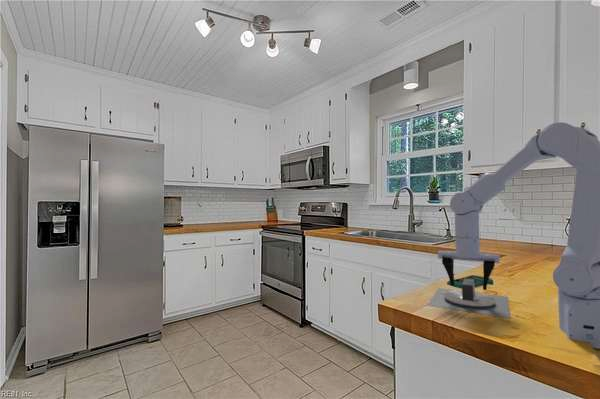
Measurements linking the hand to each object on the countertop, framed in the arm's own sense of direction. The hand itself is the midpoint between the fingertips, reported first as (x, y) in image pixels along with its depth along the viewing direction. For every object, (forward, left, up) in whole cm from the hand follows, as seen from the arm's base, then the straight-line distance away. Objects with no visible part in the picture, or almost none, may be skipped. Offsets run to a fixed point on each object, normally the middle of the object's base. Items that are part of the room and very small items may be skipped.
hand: (468, 287), depth 82 cm
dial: (0, 0, -4) cm, 4 cm away
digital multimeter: (+20, +1, -6) cm, 21 cm away
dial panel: (0, 0, -5) cm, 5 cm away
